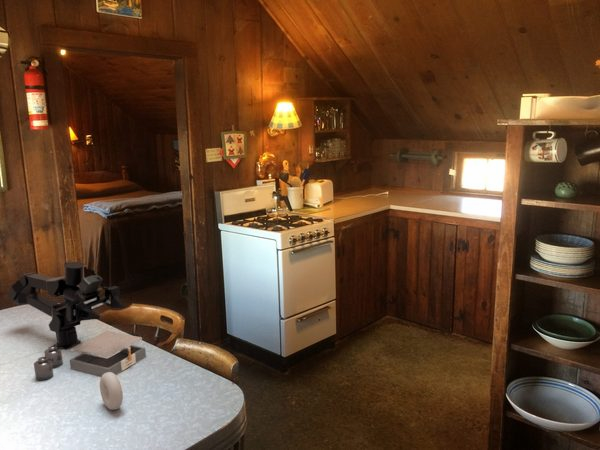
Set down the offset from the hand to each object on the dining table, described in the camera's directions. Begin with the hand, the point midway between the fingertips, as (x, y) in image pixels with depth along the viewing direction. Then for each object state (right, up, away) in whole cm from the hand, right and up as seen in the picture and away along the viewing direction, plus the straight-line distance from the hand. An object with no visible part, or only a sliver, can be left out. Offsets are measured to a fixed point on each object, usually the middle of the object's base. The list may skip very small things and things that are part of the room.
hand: (111, 312), depth 164 cm
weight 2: (-18, -17, +1) cm, 25 cm away
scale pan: (-1, -14, +1) cm, 14 cm away
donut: (+9, -22, -24) cm, 34 cm away
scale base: (-2, -16, +2) cm, 17 cm away
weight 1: (-18, -19, -7) cm, 27 cm away
